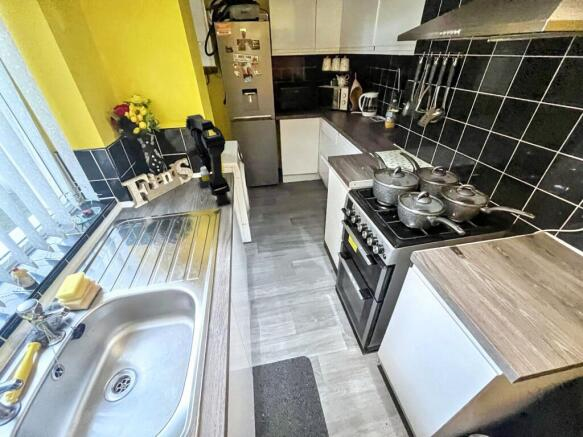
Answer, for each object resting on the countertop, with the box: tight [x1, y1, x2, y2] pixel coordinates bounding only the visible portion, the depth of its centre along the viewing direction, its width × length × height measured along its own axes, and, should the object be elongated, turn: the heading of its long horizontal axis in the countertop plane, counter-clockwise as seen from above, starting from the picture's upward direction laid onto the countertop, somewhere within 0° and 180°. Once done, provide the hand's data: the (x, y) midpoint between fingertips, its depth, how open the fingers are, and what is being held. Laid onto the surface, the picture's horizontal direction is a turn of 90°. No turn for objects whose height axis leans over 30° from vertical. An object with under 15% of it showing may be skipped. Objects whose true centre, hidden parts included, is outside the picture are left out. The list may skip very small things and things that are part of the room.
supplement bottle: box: [199, 165, 211, 182], centre depth 145 cm, size 5×5×10 cm
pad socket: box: [198, 176, 209, 189], centre depth 147 cm, size 8×8×4 cm
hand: (207, 169), depth 134 cm, fingers open, 9 cm apart
